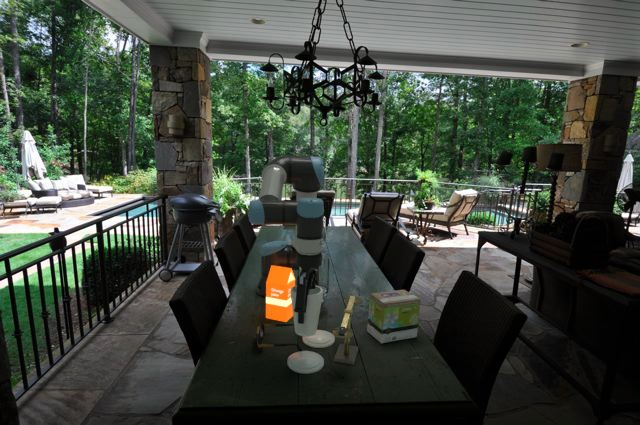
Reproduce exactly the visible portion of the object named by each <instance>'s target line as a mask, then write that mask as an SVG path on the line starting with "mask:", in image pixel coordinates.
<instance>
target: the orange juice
mask: <svg viewBox="0 0 640 425" xmlns="http://www.w3.org/2000/svg"><path fill="white" fill-rule="evenodd" d="M294 286H296V277H295V274H294V270H292V268H287V267H280V266H273V265H271V268H270V272H269V275H268V279H267V282H266V297H265V318H266V319H267V320H268V319H269V320H274V321H279V322H284V323H287V322H288V321H289V320H290V319H292V318H293V308H292V299H291V288H292V287H294Z"/></svg>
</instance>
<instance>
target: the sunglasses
mask: <svg viewBox="0 0 640 425" xmlns="http://www.w3.org/2000/svg"><path fill="white" fill-rule="evenodd" d="M290 326H291V327H293V326H294V323H268V324H264V323H263V322H260V323H259V324H258V326H257V327H256V333H255V336H256V343H257V347H258V351H259V353H262V352H263V348H273V347H276V348H277V347H290V346H294V347H297V350H298V352H299V351H304V350H303V349H302V348H301V346H300V345H299V344H297V343H262V341H263V339H264V337H265V334H266V333H265V332H266V331H265V328H272V327H273V328H276V327H278V328H279V327H290Z"/></svg>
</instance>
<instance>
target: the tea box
mask: <svg viewBox="0 0 640 425" xmlns="http://www.w3.org/2000/svg"><path fill="white" fill-rule="evenodd" d="M420 307H421V298H419V297H418V296H416V295H415V294H413V293H412V292H409V291H407V290H406V289H398V290H397V289H396V290H389V291H388V290H387V291H379V292H373V293H370V295H369V305H368V314H367V315H368V318H367V328H366V329H367V330H366V331H367V332H368V333H369V334H370V335H371V336H372V337H373V338H374V339H375V340H376V341H378V342H379V343H380V344H385V343H391V342H396V341H402V340H408V339H414V338H415V339H416V338H417V337H418V329H419V319H420V318H419V317H420V309H421V308H420Z"/></svg>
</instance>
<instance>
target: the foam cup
mask: <svg viewBox="0 0 640 425" xmlns="http://www.w3.org/2000/svg"><path fill="white" fill-rule="evenodd" d="M296 292H297V284H295V286H294V287H292V288H291V299H292V308H293V316H292V318H293V324H294V332H295V334H296V335H298V336H300V337H303V336H312V335H314V334H315V333H316V330H318V325H319V320H320V319H319V318H320V312H321V309H322V308H321V307H322V302H323V299H324V289H323V288H322V287H321V286H317V285H316V286H315V289H309V295H308V297H307V308H306V311H307V333H306V334H302V333H297V312H295V311H294V309H295V301H296Z"/></svg>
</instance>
